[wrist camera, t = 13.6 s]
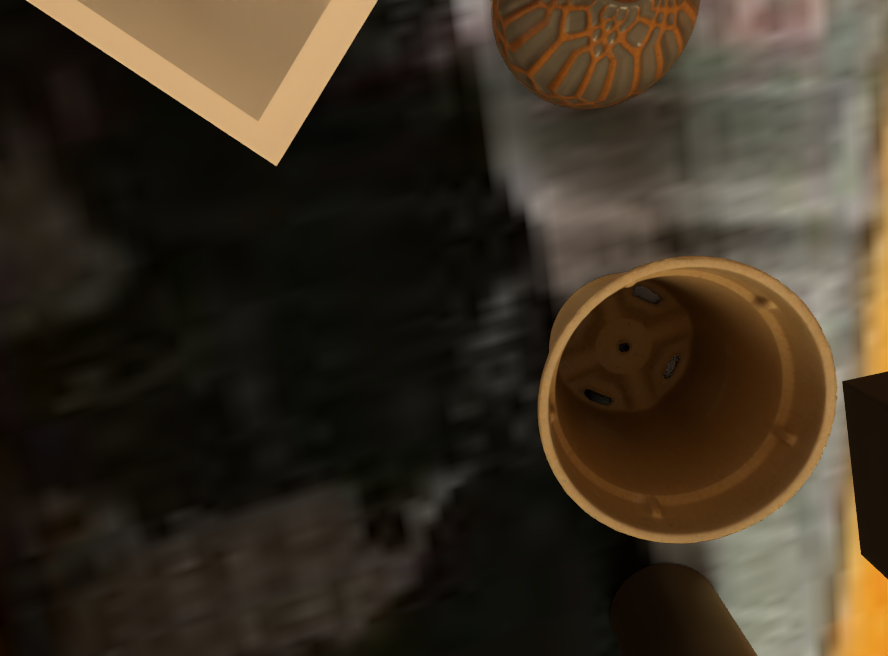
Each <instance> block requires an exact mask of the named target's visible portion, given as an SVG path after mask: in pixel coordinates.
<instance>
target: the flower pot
mask: <svg viewBox="0 0 888 656" xmlns="http://www.w3.org/2000/svg"><path fill="white" fill-rule="evenodd" d="M636 286H644V287H646V288H648V289H650V290H651V291H652V292H654V293H656V294H658V295H659V297H660V298H661V301H659V303H658V304H656V305H655V304H652V303H650V302H648V301H646V300H644V299H642V298H640V297H637V296H634V295H633V292H634V289H635V287H636ZM623 343H628V344H629V350H627V351H626V352H621V351H620V349H619V345H620V344H623ZM673 356H679V359H678V362H677V365H676V367H675V369H674V371H673V373H672V374H671V375H670V376H669V377H668V378H664V377H663V375H664V373H665V371H666V369H667V366H666V363H667V364H669V362H671V360H672V358H673ZM586 389H590V390H591V391H594V392H596V393H599V394H601V395H603V396H606V397H610V398H611V399H612V401H611V403H610V404H599V403H596V402H595V401H591V400H589V399H588V398H587V397H586V396H585V394H584V391H585V390H586ZM836 392H837V381H836V374H835V368H834V362H833V357H832V353H831V350H830V346H829V344H828V342H827V340H826V337H825V335H824V333H823V331H822V328H821V327H820V325H819V323H818V321H817V320H816V318H815V317H814V315H813V314H812V313H811V311H810V310H809V309H808V307H807V306H806V305H805V303H804V302H803V301H802V300H801V299H800V298H799V297H798V296H797V295H796V294H795V293H793V292H792V291H791V290H790V289H789V288H788V287H786V286H785V285H783V284H782V283H781V282H780V281H779V280H777V279H775V278H773V277H771V276H770V275H768V274H766V273H765V272H763V271H761V270H758V269H756V268H754V267H751V266H749V265H746V264H743V263H740V262H736V261H733V260H729V259H723V258H717V257H707V256H683V257H674V258H667V259H663V260H659V261H655V262H651V263H648V264H645V265H642V266H639V267H637V268H634V269H632V270H630V271H628V272H626V273H616V274H611V275H607V276H603V277H600V278H598V279H596V280H594V281H592V282H590V283H588V284H586V285H584V286H583V287H581V288H580V289H579V290H577V291H576V292H575V293H574V294H573V295H572V296H571V297H570V298H569V299H568V300H567V301H566V303H565V304H564V305H563V307H562V308H561V310H560V311H559V313H558V315H557V317H556V319H555V321H554V324H553V327H552V331H551V336H550V343H549V354H548V357H547V360H546V363H545V366H544V369H543V373H542V377H541V381H540V386H539V394H538V425H539V431H540V436H541V441H542V445H543V448H544V452H545V454H546V457H547V460H548V462H549V464H550V466H551V469H552V471H553V473H554V475H555V476H556V478H557V480H558V481H559V482H560V484H561V485H562V487H563V488H564V490H565V492H566V493H567V494H568V495H569V496H570V497H571V498H572V499H573V500H574V501H575V502H576V503H577V504H578V505H579V506H580V507H581V508H582V509H583V510H584V511H585V512H586V513H588V514H589V515H590V516H592V517H593V518H595V519H596V520H598V521H599V522H601V523H603V524H605V525H607V526H609V527H611V528H613V529H614V530H617V531H618V532H622V533H625V534H627V535H630V536H634V537H637V538H640V539H645V540H650V541H654V542H663V543H695V542H701V541H706V540H708V541H709V540H713V539H716V538H720V537H724V536H727V535H730V534H733V533H736V532H738V531H740V530H743V529H745V528H747V527H749V526H752V525H754V524H756V523H757V522H759V521H762V520H763V519H764V518H765V517H767V516H768V515H770V514H771V513H773V512H774V511H776V510H777V509H779V508H780V507H781V506H782V505H783V504H784V503H785V502H786V501H788V500H789V499H790V498H791V497H792V496H793V495H795V493H796V492H797V490H798V489H799V488H800V487H801V486H802V485H803V483H804V482H805V481H806V479H807V478H808V477H809V476H810V475H811V474H812V471H813V469H814V468H815V466H816V465H817V463H818V462H819V460H820V459H821V455H822V454H823V449H824V448H825V447H826V443H827V440H828V437H829V435H830V432H831V428H832V424H833V420H834V416H835V409H836V400H837V396H836Z"/></svg>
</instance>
